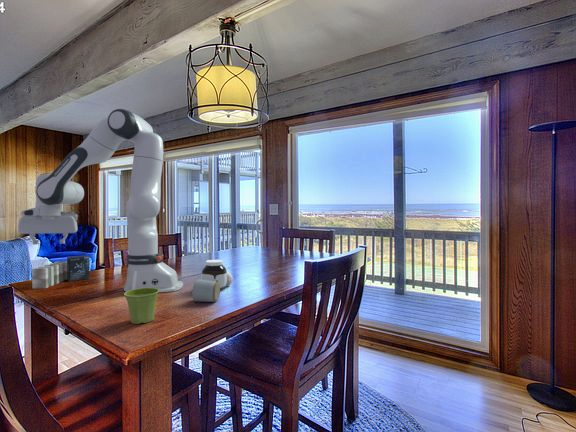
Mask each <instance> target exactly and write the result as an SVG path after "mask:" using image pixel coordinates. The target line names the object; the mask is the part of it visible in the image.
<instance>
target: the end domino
mask: <svg viewBox="0 0 576 432" xmlns="http://www.w3.org/2000/svg"><path fill="white" fill-rule="evenodd" d="M54 263H64V281H65V280H67V261H55V262H54ZM67 281H68V280H67Z"/></svg>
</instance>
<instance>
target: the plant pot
mask: <svg viewBox="0 0 576 432" xmlns="http://www.w3.org/2000/svg"><path fill="white" fill-rule="evenodd" d="M158 293H160V292H159V289H157V288H139V289H133V290H130V291H127V292H126V291H124V293H123V296H124V297H125V299H126V301H127V307H128V312H129V318H130V323H132V324H134V325H140V324H148V323H150V322H152V321H154V318H155V311H156V310H155V309H156V304H157V298H158V295H159V294H158Z"/></svg>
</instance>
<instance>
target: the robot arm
mask: <svg viewBox="0 0 576 432" xmlns="http://www.w3.org/2000/svg"><path fill="white" fill-rule="evenodd" d="M126 141H128V142H129V143H131V144H133V145H134V149H133V150H134V152H133V160H132V165H131V166H132V167H131V175H130V177H131V178H130V196H129V198H128V200H127V202H126V225H127V255H126V269H127V272H126V274H127V275H126V280H125V283H124V288H123V291H124V292H127V291H130V290H133V289H139V288H157V289H159V292H158V293H169V292H176V291H178V290H180V289H182V288H183V287H184V283H183V281H182V280H178V274H177V271H176V270H175V269H174V268H172V267H170V266H169V265H167V264H166V263H165V262H164V254H161V253H159V244H158V243H159V241H158V239H159V237H158V235H159V233H158V228H157V219H156V217H157V216H158V215H159V213H160V212H161V211H160V210H161V196H162V195H161V194H162V191H161V190H162V186H161V185H162V173H163V162H164V142H163V138H162V137H161V136H160V135H159V134H157V131H156V129H155V127H154V126H153V125H152V124H151V123H149V121H148V122H147V121H146V120H145V119H144V118H142V116H139V115H137V114H135V113H133V112H131V111H130V110H127V109H123V108H116V109H114V110H112V111H111V112H110V113H109V115H108V117H103V119H101V120H100V121H99V122H98V123H97V124H96V125H95V126H94V127H93V129H92V130H90V133H89V134H88V135H87V137H86V138H85V139H84V140H83V141H82V143H80V145H78V146H77V147H75V148H73V150H71V151H70V152H69V153H67V155H66V156H65V157H64V158H63V160H62V161H61V162H60V163H59V164H58V165H57V166H56V167H55V169H54V170H53V171H52V172H48V173H47V172H46V173H45V172H44V173H41V174H39V175H37V176H36V179H35V186H34V188H35V189H34V191H35V197H36V201H35V207H31V208H28V209H24V210H21V212H20V216H21V217H20V218H19V220H18V228H17V231H18V233H19V234H21V235H25V234H26V235H28V234H29V238H30V240H31V241H32V245H39V243H40V242H39V239H37V238H35V237H36V234H38V235H39V234H62V236H63V238H62V239H59V244H60V245H61V244H66V239H67V237H68V236H69V234H75V233H77V232H78V216H79V215H78V214H77V213H76V212H74V211H63V210H62V205H75V204H76V205H77V204H79V203H80V202H82V200H83V199H84V197H85V189H84V187H83V186H82V184H80V183H78V182H75V181H72V178H73V177H75V175H76V174H77V172H79V171H80V170H81V169H83V168H84V167H88V166H91V165H95V164H96V165H97V164H102V163H105V162H107V161H108V160H109V159H110V158H111V157H112V156H113V155H114V154H115V152H116V151H117V149H118V147H119V146H120V144H122V142H126Z"/></svg>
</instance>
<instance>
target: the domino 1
mask: <svg viewBox="0 0 576 432" xmlns="http://www.w3.org/2000/svg"><path fill="white" fill-rule="evenodd" d="M31 282H32V285H31V286H32V289H36V290H37V289H47V288H49V286H48V268H38V267H35V268H34V267H33V268H31Z"/></svg>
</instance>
